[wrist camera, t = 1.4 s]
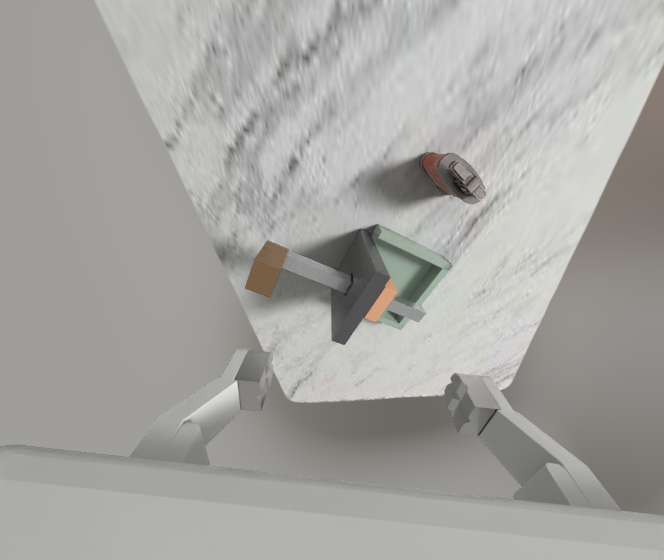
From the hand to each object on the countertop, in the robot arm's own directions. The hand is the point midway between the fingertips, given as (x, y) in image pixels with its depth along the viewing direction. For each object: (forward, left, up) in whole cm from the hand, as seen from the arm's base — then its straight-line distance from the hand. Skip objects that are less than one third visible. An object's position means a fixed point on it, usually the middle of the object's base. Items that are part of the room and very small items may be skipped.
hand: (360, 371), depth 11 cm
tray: (+15, -8, -33) cm, 37 cm away
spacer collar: (+10, -8, -27) cm, 30 cm away
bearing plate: (+6, -8, -33) cm, 35 cm away
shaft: (+5, -8, -24) cm, 26 cm away
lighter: (+12, +11, -33) cm, 37 cm away
